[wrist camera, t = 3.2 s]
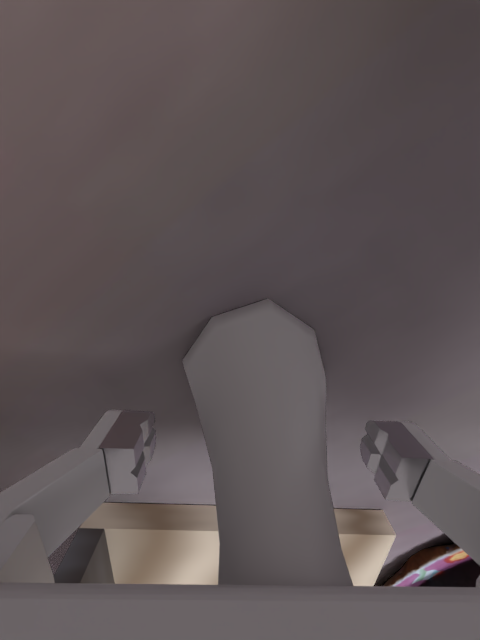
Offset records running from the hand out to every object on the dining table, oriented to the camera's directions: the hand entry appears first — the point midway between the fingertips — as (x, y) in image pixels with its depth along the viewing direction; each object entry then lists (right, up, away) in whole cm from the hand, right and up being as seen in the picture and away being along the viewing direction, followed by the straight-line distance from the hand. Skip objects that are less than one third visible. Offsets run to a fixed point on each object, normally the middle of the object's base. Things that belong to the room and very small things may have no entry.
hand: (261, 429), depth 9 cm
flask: (0, +2, +4) cm, 5 cm away
